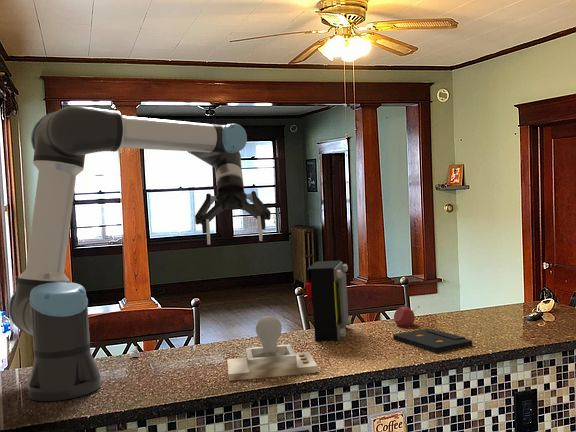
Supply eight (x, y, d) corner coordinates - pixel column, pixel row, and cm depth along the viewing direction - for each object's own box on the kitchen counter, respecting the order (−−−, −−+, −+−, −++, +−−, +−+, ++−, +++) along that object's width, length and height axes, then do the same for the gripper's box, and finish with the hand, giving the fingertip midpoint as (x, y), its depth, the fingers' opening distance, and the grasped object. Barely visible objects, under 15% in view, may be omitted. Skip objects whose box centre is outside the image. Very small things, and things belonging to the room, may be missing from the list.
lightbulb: (287, 358, 143) (284, 312, 143) (279, 366, 137) (276, 318, 137) (262, 358, 145) (259, 313, 145) (254, 365, 139) (251, 318, 139)
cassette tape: (473, 348, 151) (472, 339, 151) (436, 355, 146) (435, 346, 146) (427, 335, 167) (427, 327, 167) (393, 341, 162) (392, 333, 162)
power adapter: (140, 359, 159) (139, 347, 159) (130, 360, 158) (129, 349, 158) (137, 356, 162) (136, 345, 162) (127, 358, 161) (126, 346, 161)
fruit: (415, 333, 176) (425, 307, 178) (400, 325, 175) (410, 300, 176) (403, 329, 182) (413, 305, 183) (389, 322, 180) (399, 297, 182)
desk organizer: (228, 380, 134) (227, 363, 133) (227, 365, 146) (226, 348, 146) (317, 372, 136) (316, 354, 136) (309, 357, 149) (308, 341, 149)
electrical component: (345, 341, 164) (341, 267, 163) (308, 341, 166) (303, 269, 165) (351, 326, 181) (347, 260, 180) (318, 327, 183) (314, 261, 182)
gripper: (273, 190, 176) (282, 245, 161) (186, 195, 173) (187, 251, 158) (274, 171, 170) (283, 226, 156) (184, 176, 167) (185, 232, 153)
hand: (235, 239), depth 157 cm, fingers open, 13 cm apart
